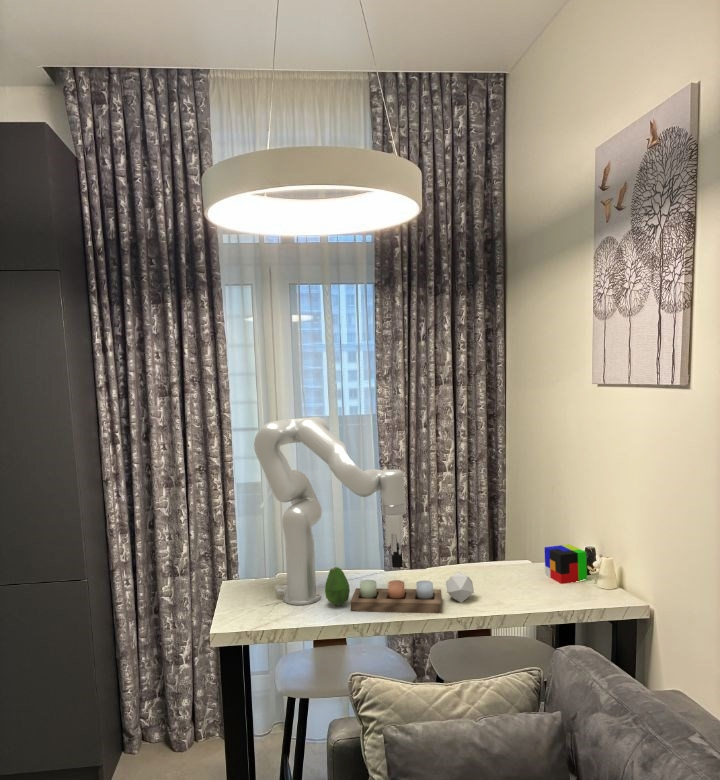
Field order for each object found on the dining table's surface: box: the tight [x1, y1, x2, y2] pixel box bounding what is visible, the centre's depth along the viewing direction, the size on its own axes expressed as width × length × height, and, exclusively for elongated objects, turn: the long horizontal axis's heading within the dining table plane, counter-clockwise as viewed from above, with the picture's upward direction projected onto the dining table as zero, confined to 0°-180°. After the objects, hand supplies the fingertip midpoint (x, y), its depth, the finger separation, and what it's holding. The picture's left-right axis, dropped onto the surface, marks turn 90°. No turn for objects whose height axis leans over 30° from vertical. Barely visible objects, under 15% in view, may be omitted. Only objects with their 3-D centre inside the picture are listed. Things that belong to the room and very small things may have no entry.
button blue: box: [415, 580, 434, 599], centre depth 187 cm, size 5×5×4 cm
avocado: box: [324, 566, 351, 606], centre depth 190 cm, size 8×8×12 cm
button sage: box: [359, 579, 377, 598], centre depth 189 cm, size 5×5×4 cm
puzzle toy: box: [543, 544, 588, 585], centre depth 207 cm, size 10×10×10 cm
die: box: [445, 571, 475, 603], centre depth 191 cm, size 8×9×10 cm
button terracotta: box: [387, 579, 406, 599], centre depth 188 cm, size 5×5×4 cm
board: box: [349, 587, 442, 614], centre depth 188 cm, size 28×12×3 cm, turn 82°
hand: (397, 566), depth 188 cm, fingers closed
